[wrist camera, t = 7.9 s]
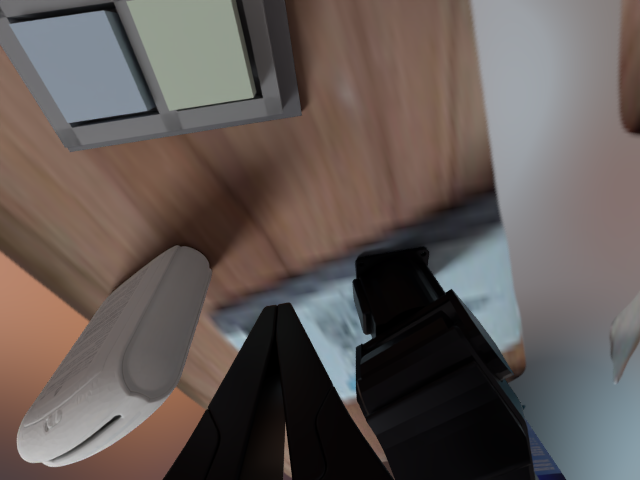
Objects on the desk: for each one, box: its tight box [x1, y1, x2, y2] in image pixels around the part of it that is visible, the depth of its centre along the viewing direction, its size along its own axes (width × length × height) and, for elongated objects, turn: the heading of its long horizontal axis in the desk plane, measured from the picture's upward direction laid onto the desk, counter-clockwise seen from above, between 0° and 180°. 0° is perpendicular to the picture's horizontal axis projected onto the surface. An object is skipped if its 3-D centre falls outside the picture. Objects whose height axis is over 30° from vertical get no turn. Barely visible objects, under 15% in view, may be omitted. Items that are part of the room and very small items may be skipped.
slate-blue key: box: [9, 10, 157, 123], centre depth 14 cm, size 4×4×2 cm
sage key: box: [126, 0, 256, 111], centre depth 13 cm, size 4×4×2 cm
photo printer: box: [17, 245, 212, 467], centre depth 19 cm, size 10×4×12 cm, turn 126°
